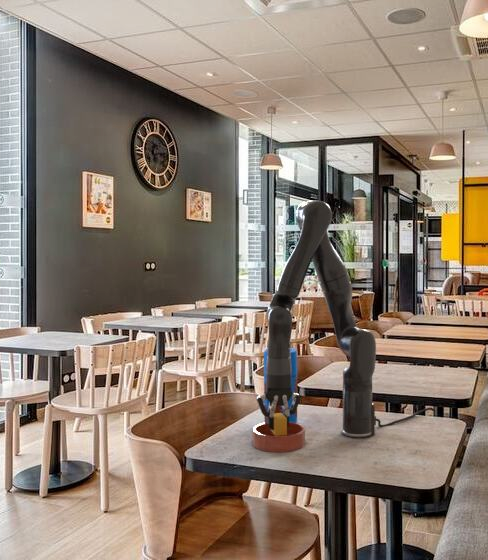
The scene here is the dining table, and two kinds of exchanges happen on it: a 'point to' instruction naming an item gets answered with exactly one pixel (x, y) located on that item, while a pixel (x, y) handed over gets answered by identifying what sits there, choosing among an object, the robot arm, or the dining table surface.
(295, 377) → the thermos
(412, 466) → the dining table surface
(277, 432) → the sponge
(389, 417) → the dining table surface
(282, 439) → the bowl
